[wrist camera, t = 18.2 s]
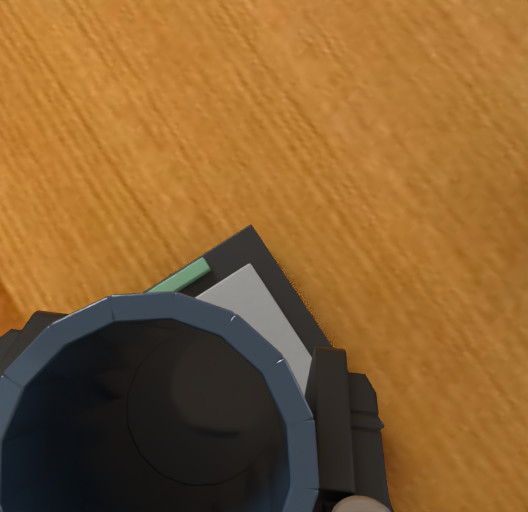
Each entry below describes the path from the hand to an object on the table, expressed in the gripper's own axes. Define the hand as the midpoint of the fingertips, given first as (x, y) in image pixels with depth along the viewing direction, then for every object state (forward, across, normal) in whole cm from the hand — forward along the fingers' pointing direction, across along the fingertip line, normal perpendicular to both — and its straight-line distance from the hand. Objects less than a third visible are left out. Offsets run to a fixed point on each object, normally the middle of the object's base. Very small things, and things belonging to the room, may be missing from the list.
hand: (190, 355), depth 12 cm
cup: (+2, 0, +5) cm, 5 cm away
